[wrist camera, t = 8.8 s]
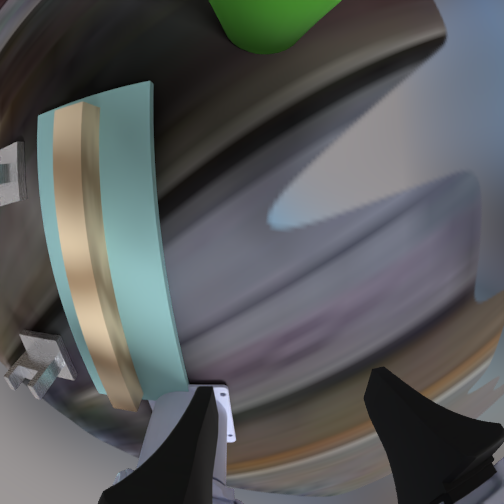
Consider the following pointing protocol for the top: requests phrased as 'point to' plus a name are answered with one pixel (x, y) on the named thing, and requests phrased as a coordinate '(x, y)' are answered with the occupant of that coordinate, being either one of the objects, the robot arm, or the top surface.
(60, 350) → the hook stand
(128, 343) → the mat
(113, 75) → the top surface
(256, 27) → the cup
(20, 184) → the hook stand
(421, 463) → the robot arm
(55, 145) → the rail
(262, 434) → the top surface
